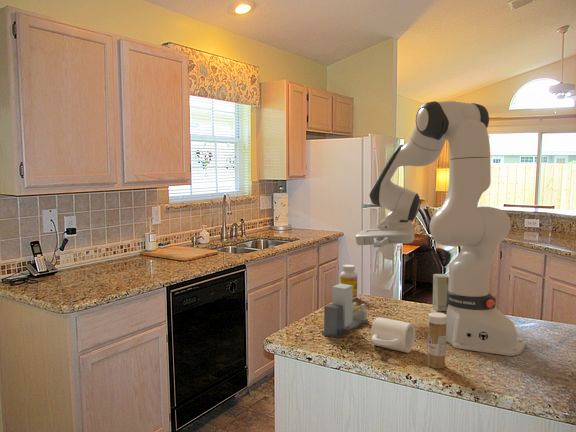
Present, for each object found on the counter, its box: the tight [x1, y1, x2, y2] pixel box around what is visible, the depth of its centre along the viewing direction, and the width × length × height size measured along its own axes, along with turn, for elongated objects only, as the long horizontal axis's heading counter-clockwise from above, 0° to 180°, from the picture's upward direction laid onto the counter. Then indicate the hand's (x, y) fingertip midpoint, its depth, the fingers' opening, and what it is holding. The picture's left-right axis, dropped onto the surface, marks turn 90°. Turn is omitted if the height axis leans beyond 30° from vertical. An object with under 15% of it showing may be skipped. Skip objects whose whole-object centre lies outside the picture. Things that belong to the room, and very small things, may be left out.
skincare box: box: [432, 273, 449, 312], centre depth 171 cm, size 6×4×12 cm
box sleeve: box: [331, 282, 354, 327], centre depth 149 cm, size 4×5×12 cm
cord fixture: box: [321, 301, 369, 339], centre depth 151 cm, size 6×19×9 cm, turn 145°
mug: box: [370, 316, 416, 353], centre depth 133 cm, size 12×10×8 cm
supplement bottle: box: [339, 264, 358, 301], centre depth 186 cm, size 7×7×13 cm
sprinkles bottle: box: [426, 311, 447, 369], centre depth 122 cm, size 5×5×13 cm
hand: (377, 245), depth 162 cm, fingers closed
